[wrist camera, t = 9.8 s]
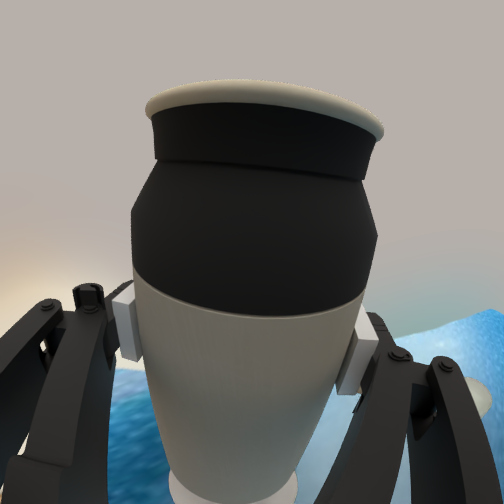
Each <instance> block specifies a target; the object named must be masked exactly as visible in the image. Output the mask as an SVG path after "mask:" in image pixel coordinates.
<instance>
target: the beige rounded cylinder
mask: <svg viewBox="0 0 504 504" xmlns="http://www.w3.org/2000/svg"><path fill="white" fill-rule="evenodd" d="M464 378H465V381H466V383H467V385H468V387H469V390H470V392H471V395H472V397H473V400H474V402H475V405H476V407H477V410H478V412H479V415H480V418H481V419H482V418H483V417H484V415H485V414H486V413H487V411H488V410H489V409H490V407H491V405H492V397H491V394H490V392H489V390H488V389H487V388H486V386H485V385H483V384H482V383H481V382H479V381H478V380H475V379H473V378H469V377H464Z"/></svg>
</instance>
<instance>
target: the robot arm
mask: <svg viewBox="0 0 504 504" xmlns="http://www.w3.org/2000/svg"><path fill="white" fill-rule="evenodd" d="M73 297H74V302H75V306H76V310H75V312H73V311H63V309H62V305H61V302H60V301H59V300H56V299H51V298H50V299H45V300H43V301H41V302H39V303H37V304H36V305H35V306H34V307H33V308H32V309H31V310H29V311H28V312H27V313H26V314H25V315H24V316H23V317H22V318H21V319H20V320H19V321H18V322H16V323H15V324H14V325H13V326H12V327H11V328H10V329H9V330H8V331H7V332H6V333H5V334H4V335H3V336H2V337H1V338H0V489H1V487H2V485H3V483H4V485H3V492H2V500H1V504H108V492H107V454H108V433H109V419H110V407H111V398H112V389H113V381H114V373H115V367H116V356H115V352H116V350H117V349H118V348H119V347H120V351H121V355H122V358H125V359H128V360H132V361H135V362H138V361H139V360H140V358H141V357H142V355H143V354H142V348H141V341H140V335H139V327H138V319H137V311H136V302H135V291H134V280H130V281H128V282H125V283H123V284H121V285H120V286H119V287H118V288H117V289H115V290H114V291H113V292H112V293H110V294H109V295H108V296H107V297H105V298H104V291H103V287H102V286H101V285H99V284H95V283H86V284H81V285H79V286H77V287H75V288H74V289H73ZM43 340H44V343H45V346H46V349H45V350H44V351H42V349H41V347H40V343H41V342H42V341H43ZM335 384H336V390H337V395H356V393H357V391H358V389H359V387H360V386H361V390H362V395H361V397H360V399H359V401H358V403H357V404H356V406H355V408H354V410H353V412H352V413H354V415H353V418H352V420H351V423H350V426H349V428H348V431H347V433H346V436H345V438H344V441H343V443H342V446H341V448H340V450H339V453H338V455H337V457H336V460H335V462H334V464H333V466H332V468H331V471H330V473H329V475H328V477H327V479H326V481H325V483H324V485H323V487H322V489H321V491H320V493H319V495H318V496H317V498H316V500H315V502H314V504H390V502H391V499H392V495H393V492H394V488H395V484H396V481H397V477H398V472H399V468H400V464H401V459H402V454H403V449H404V444H405V438H406V433H407V442H408V451H409V463H410V477H411V504H503V500H502V495H501V489H500V484H499V479H498V475H497V471H496V467H495V463H494V459H493V455H492V452H491V448H490V445H489V442H488V438H487V435H486V432H485V429H484V426H483V423H482V421H481V418H480V415H479V412H478V410H477V407H476V405H475V402H474V400H473V397H472V395H471V392H470V390H469V387H468V385H467V383H466V381H465V378H464V376H463V374H462V372H461V370H460V367H459V366H458V364H457V363H456V362H455V361H453V359H451V358H449V357H445V356H436V357H434V358H433V360H432V361H431V363H430V365H425V364H421V363H416V362H413V357H412V355H411V354H410V352H408V351H407V350H406V349H404V348H401V347H399V346H396V344H395V342H394V340H393V338H392V336H391V335H390V332H388V329H387V327H386V325H385V323H384V321H383V319H382V318H381V317H380V316H378V315H377V314H376V313H371V312H366V311H365V309H364V307H363V305H362V303H361V307H360V310H359V314H358V317H357V320H356V323H355V327H354V330H353V333H352V336H351V339H350V342H349V345H348V348H347V351H346V354H345V357H344V360H343V362H342V365H341V368H340V370H339V373H338V376H337V378H336V381H335ZM436 410H437V412H436ZM28 433H29V435H28ZM27 435H28V439H27V443H26V447H25V451H24V453H23V454H22V455H17V454H18V452H19V450H20V448H21V446H22V444H23V442H24V440H25V439H26V437H27Z"/></svg>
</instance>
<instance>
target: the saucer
mask: <svg viewBox="0 0 504 504" xmlns="http://www.w3.org/2000/svg"><path fill="white" fill-rule="evenodd" d="M169 489H170V493H171V496H172V498H173V501H174V502H175V504H219V503H215V502H211V501H208V500H205V499H203V498H201V497H199V496H197V495H195V494H193V493H192V492H190V491H189V490H188V489H186V488H185V487H184V486H183V485H182V484H181V483H180V482H179V481H178V480H177V478H176V477H175V476H174V474H173V472H172V470H170V473H169ZM297 490H298V481H297V476H296V473H295V471H294V472H293V474H292V475H291V477H290V479H289V480H288V482H287V483H286V484H285V485H284V486H283V487H282V488H281V489H280V490H279V491H277V492H276V493H275V494H273V495H272V496H270V497H268V498H266V499H263V500H261V501H258V502H254V503H250V504H294V502H295V499H296V496H297Z"/></svg>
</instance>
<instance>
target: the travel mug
mask: <svg viewBox="0 0 504 504" xmlns="http://www.w3.org/2000/svg"><path fill="white" fill-rule="evenodd" d="M145 112H146V115H147V117H148V118H149V119H150V120H151V121H152V126H153V132H154V151H155V159H157V163H156V164H155V166H154V168H153V170H152V172H151V173H150V175H149V177H148V179H147V181H146V183H145V184H144V186H143V188H142V190H141V192H140V194H139V196H138V198H137V200H136V202H135V204H134V206H133V208H132V210H131V244H132V264H133V279H134V291H135V302H136V311H137V319H138V327H139V335H140V341H141V348H142V354H143V360H144V365H145V371H146V376H147V382H148V386H149V391H150V396H151V400H152V405H153V409H154V413H155V417H156V421H157V425H158V429H159V433H160V436H161V440H162V443H163V447H164V450H165V453H166V457H167V460H168V463H169V466H170V468H171V470H172V472H173V474H174V476H175V477H176V478H177V480H178V481H179V482H180V483H181V484H182V485H183V486H184V487H185V488H186V489H188V490H189V491H190V492H192V493H193V494H195V495H197V496H199V497H201V498H203V499H205V500H208V501H211V502H215V503H219V504H250V503H254V502H258V501H261V500H263V499H266V498H268V497H270V496H272V495H273V494H275V493H276V492H277V491H279V490H280V489H281V488H282V487H283V486H284V485H285V484H286V483H287V482H288V480H289V479H290V477H291V475H292V474H293V472H294V470H295V468H296V466H297V464H298V462H299V461H300V459H301V457H302V455H303V453H304V451H305V449H306V447H307V445H308V443H309V441H310V439H311V437H312V434H313V432H314V430H315V428H316V426H317V424H318V422H319V419H320V417H321V415H322V413H323V410H324V408H325V406H326V403H327V401H328V398H329V396H330V394H331V391H332V389H333V386H334V384H335V381H336V378H337V376H338V373H339V370H340V368H341V365H342V362H343V360H344V357H345V354H346V351H347V348H348V345H349V342H350V339H351V336H352V333H353V330H354V327H355V323H356V320H357V317H358V314H359V310H360V307H361V303H362V300H363V296H364V292H365V288H366V284H367V280H368V277H369V273H370V269H371V265H372V260H373V256H374V251H375V246H376V242H377V237H378V235H377V231H376V227H375V223H374V220H373V217H372V213H371V209H370V206H369V203H368V200H367V196H366V193H365V190H364V187H363V184H362V180H364V179H365V175H366V171H367V168H368V164H369V160H370V156H371V153H372V151H373V148H374V146H375V143H376V142H378V141H380V140H381V138H382V137H383V135H384V128H383V125H382V123H381V122H380V120H379V119H378V118H377V117H376V116H375V115H374V114H372V113H370V112H369V111H368V110H366V109H365V108H363V107H361V106H359V105H357V104H355V103H353V102H351V101H349V100H347V99H344V98H341V97H339V96H336V95H333V94H330V93H327V92H323V91H320V90H316V89H311V88H308V87H304V86H299V85H293V84H288V83H281V82H273V81H262V80H242V79H241V80H238V79H232V80H213V81H203V82H196V83H190V84H185V85H181V86H177V87H173V88H170V89H168V90H165V91H163V92H160V93H158V94H157V95H155V96H154V97H152V98H151V99H150V100H149V101H148V103H147V105H146V108H145Z"/></svg>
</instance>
